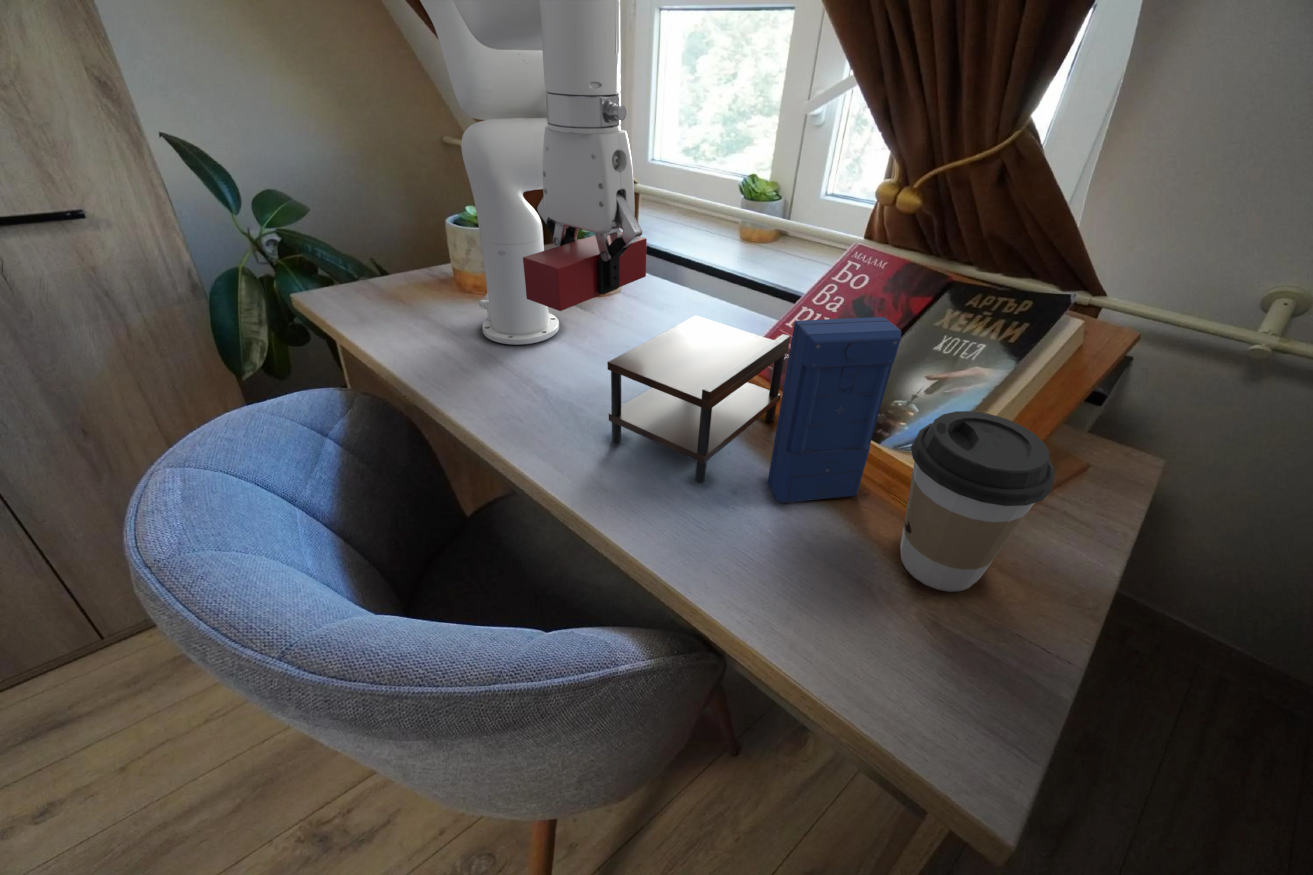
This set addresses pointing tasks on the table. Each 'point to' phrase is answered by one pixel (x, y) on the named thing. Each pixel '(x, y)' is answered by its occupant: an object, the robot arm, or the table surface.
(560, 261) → the red rectangular block
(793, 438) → the electronic device
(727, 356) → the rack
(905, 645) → the table surface
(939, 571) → the coffee cup
